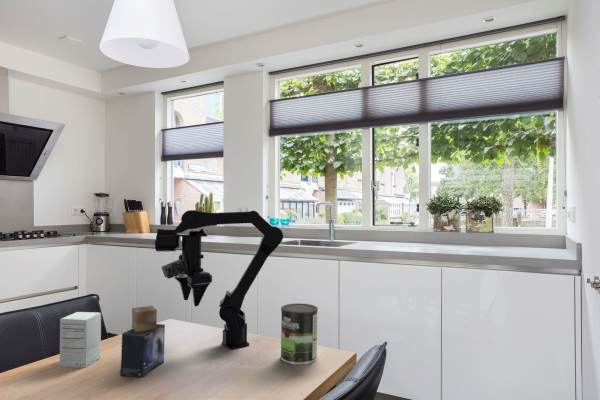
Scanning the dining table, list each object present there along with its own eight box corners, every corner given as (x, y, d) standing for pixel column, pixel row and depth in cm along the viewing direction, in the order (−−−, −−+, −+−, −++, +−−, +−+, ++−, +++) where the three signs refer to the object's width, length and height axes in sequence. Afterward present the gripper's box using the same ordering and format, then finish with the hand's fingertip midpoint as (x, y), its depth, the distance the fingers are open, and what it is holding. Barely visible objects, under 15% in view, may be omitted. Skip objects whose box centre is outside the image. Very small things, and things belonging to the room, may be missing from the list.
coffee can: (300, 368, 106) (300, 314, 107) (273, 358, 113) (273, 307, 114) (325, 357, 114) (325, 307, 114) (298, 349, 121) (298, 301, 121)
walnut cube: (151, 324, 109) (151, 305, 109) (156, 329, 105) (156, 309, 105) (131, 327, 106) (132, 308, 107) (136, 332, 102) (136, 312, 102)
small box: (143, 378, 100) (143, 335, 100) (119, 376, 101) (120, 333, 101) (165, 362, 110) (166, 323, 110) (143, 360, 111) (144, 322, 112)
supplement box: (76, 356, 114) (76, 311, 114) (101, 357, 113) (102, 312, 113) (58, 367, 106) (59, 318, 107) (85, 368, 106) (86, 319, 106)
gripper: (156, 250, 126) (155, 300, 126) (174, 256, 111) (173, 313, 111) (191, 248, 133) (190, 296, 132) (213, 253, 117) (212, 308, 117)
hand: (190, 303), depth 123 cm, fingers open, 9 cm apart
